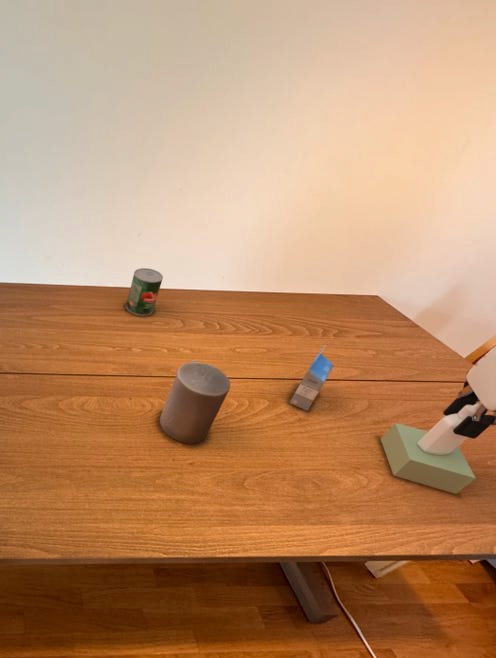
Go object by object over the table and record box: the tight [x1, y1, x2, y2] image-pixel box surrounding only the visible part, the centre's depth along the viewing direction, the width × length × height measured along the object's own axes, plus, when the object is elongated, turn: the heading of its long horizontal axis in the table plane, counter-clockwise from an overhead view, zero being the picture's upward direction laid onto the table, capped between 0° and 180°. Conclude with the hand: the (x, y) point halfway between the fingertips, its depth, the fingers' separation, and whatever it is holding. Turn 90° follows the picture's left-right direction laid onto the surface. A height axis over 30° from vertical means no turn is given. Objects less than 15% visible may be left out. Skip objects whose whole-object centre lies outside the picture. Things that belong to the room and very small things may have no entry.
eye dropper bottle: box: [417, 402, 482, 455], centre depth 76 cm, size 4×6×12 cm
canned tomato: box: [125, 267, 164, 317], centre depth 120 cm, size 8×8×11 cm
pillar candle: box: [159, 361, 231, 445], centre depth 83 cm, size 10×10×15 cm
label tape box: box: [289, 344, 334, 412], centre depth 93 cm, size 9×4×12 cm, turn 137°
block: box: [380, 422, 477, 495], centre depth 81 cm, size 10×10×5 cm
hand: (458, 424), depth 75 cm, fingers closed on eye dropper bottle, 4 cm apart
